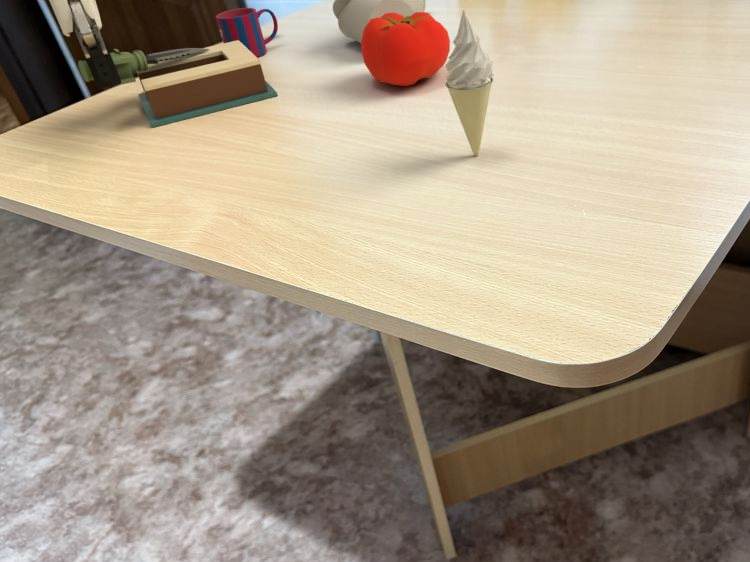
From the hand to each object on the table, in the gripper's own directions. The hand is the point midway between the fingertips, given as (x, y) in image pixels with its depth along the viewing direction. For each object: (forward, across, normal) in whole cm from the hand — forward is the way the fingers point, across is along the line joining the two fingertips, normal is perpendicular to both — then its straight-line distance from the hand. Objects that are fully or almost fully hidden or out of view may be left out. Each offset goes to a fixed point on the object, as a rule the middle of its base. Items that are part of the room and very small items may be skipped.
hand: (108, 79), depth 97 cm
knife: (+1, -2, +6) cm, 6 cm away
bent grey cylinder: (+6, -7, +45) cm, 46 cm away
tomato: (+6, +16, +39) cm, 43 cm away
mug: (+6, -18, +24) cm, 31 cm away
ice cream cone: (+6, +46, +34) cm, 57 cm away
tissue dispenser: (+5, 0, +12) cm, 13 cm away
